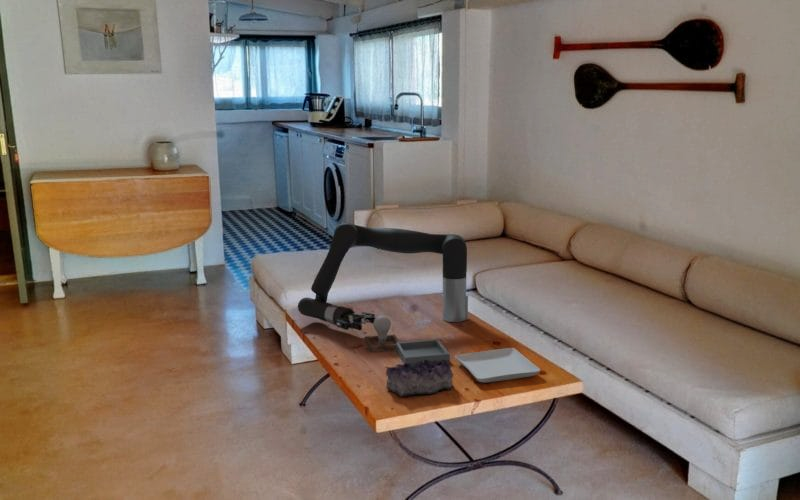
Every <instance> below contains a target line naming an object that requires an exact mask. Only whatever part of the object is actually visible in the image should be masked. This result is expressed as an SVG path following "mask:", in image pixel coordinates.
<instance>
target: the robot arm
mask: <svg viewBox="0 0 800 500" xmlns="http://www.w3.org/2000/svg"><path fill="white" fill-rule="evenodd" d="M330 243H331V244H330V247H329V249H328V252H327V253H326V254H327V255H326V257H325V258H324V260H323V263H322V265H321V267H320V269H319V270H318V272H317V274H316V276H315V279H314V281H313V283H312V285H311V287H310V288H311V291H312V293H314V294H315V298H312V297H306V296H305V297H303V298H301V299H300V300H299V301H298V303H297V309H298V312H299V313H300V314H301V315H303V316H305V317H308V318H309V317H310V318H312V319H313V318H314V319H318V320H320V321H323V322H326V323H329V324H331V325H334V326H336V327H337V328H340V329H342V330H345V331H348V330H349V329H350V330H357V331H362V330H363V325H366V323H367V324H369V323H370V324H373V323H374V320H375V318H376V315H375V313H371V312H368V311H362V312H361V313H358V312H357V313H356V312H355V311H354V310H353V309H352V308H350V307H348V306H347V307H346V306H344V305H339V304H334V303H330V302H328V298H329V297H328V296H329V292H330V290H331V288H332V287H333V284H334V283H335V280H336V277H337V275H338V272H339V269H340V267H341V265H342V262H343V261H344V258H345V256H346V255H347V253H348V252H349V250H350V249H351V247H353V246H354V247H356V246H357V247H358V246H359V247H371V248H376V249H378V250H382V251H385V252H392V253H397V254H421V253H433V254H439V255H442V320H443V321H446V322H449V323H461V322H465V321H468V320H469V297H468V295H467V271H468V247H467V243H466V240H465V239H464V238H463V237H462V236H460V235H458V234H452V233H451V234H450V233H449V234H445V233H444V234H441V233H439V234H438V233H437V234H436V233H429V232H422V231H418V230H411V229H404V228H403V229H402V228H392V227H366V226H362V225H357V224H353V223H350V222H343V223H340V224H339V225H337V226H336V228H335V229H334V231H333V236H332V240H331V242H330Z"/></svg>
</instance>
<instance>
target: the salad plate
mask: <svg viewBox="0 0 800 500" xmlns="http://www.w3.org/2000/svg"><path fill="white" fill-rule="evenodd" d="M454 358H455V359H456V360H457V362H458V363H460V364H461V365H462V367H465V368H466V369H467V370H468V371H469V372H470V374H471V375H473V377H474V378H475V379H476V381H477V382H479V383H486V384H487V383H495V382H502V381H509V380H517V379H524V378H528V377H529V378H530V377H532V376H533V377H534V376H536V375H538V374H539V373H540V372H541V369H540V368H539V367H538V366H537V365H536V364H534V363H533V362H531V361H530V360H529V359H528V358H527V357H525V355H523V354H522V353H521V352H519V350H517V349H516V348H515V347H509V348H500V349H499V348H498V349H491V350H484V351H476V352H469V353H464V354H462V353H461V354H456V355H455V356H454Z"/></svg>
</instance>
